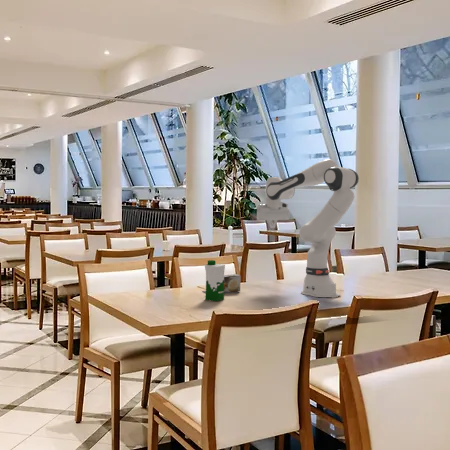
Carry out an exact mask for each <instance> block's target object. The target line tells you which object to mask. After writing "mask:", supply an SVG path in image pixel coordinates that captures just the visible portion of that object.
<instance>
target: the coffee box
mask: <svg viewBox="0 0 450 450" xmlns="http://www.w3.org/2000/svg"><path fill="white" fill-rule="evenodd" d="M227 292H241V275H240V274H236V273H234V274H224V293H227ZM227 294H228V293H227Z"/></svg>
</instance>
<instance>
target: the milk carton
mask: <svg viewBox="0 0 450 450" xmlns="http://www.w3.org/2000/svg"><path fill="white" fill-rule="evenodd" d="M225 269H226V264H221V263H220V264H218V263H216V260H215V259H214V260H213V259H211V260H210V259H209V260H207V264H205V265H204V270H205V291H206V293H205V301H209V300H211V302H220V301H223V300H225V294H224V275H225Z"/></svg>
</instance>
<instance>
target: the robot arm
mask: <svg viewBox="0 0 450 450" xmlns="http://www.w3.org/2000/svg"><path fill="white" fill-rule="evenodd" d="M359 179H360V178H359V175H358V173H357V171H355V170H354V169H351V168H346V167H343V166H341V167H340V166H338V165H337V162H336V161H335V160H333V159H330V158H327V159H324V160H323V159H322V160H320V161H318V162H316V163H314V164H312V165H311V166H309V167H307V168H305V169H304V170H301V171H299V172H298V173H296V174H293V175H291V176H288V177H286V178H284V179H282V178H281V177H279V176H272V177H268V178H267V180H266V182H265V183H266V184H265V194H266V197H265V203H263V204H259V205H257V206H256V219H257V221H267V223H268V225H269V228H270V229H273V228H274V229H275V228H276V225H277V223H278V221H288V220H289V218H290V214H289V213H290V211H289V210H290V209H289V204H288V203H285V202H283V201H282V200H289V199H292V198H293V197H294V196H295V193H296V192H295V191H296V190H295V188H297V187H313V186H318V185H320V184H323V183H324V184H326V186H327V187H328V188H329V190H330V191H331V192H333V194H332V195H331V196H330V198H329V199H328V201H326V203H325V205H324V206H323V207H322V209H321V210H319V212H318V213H316V215H314V217H312V218H311V219H310V220H309V221H308V222H306V223H304V224H303V225H302V226H301V227H299V238H300V239H301V240H302V241H303V242H305V243H309V244H311V246H310V249H309V250H307V255H306V268H305V277H304V279H303V288H302V291H301V292H300V293H301V294H302V295H306V296H309V297H314V298H318V297H332V298H337V297H336V296H340V297H341V293H338V292H337V284H336V283H335V281H333V279H332V278H331V277H330V269H329V268H328V257H329V256H328V254H329V250H330V246H331V243H332V242H333V241H332V240H333V239H334V238H335V236H336V233H337V231H336V227H335V225H337V224H338V223H339V222H340V221H341V220H342V218H343V217H344V215H345V214H346V213H347V211H348V210H349V209H350V207H351V205H352V203H353V202H354V200H355V193H354V192H353V190H352V188H353V189H354V188H355V187H356V186H357V185H358V183H359ZM272 221H273V224H272Z"/></svg>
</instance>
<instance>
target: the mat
mask: <svg viewBox="0 0 450 450" xmlns="http://www.w3.org/2000/svg"><path fill="white" fill-rule="evenodd" d="M201 292H202V293H204V294H206V290H202V291H201ZM239 293H240V291H238V292H227V293H224V295H225V294H239Z"/></svg>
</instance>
